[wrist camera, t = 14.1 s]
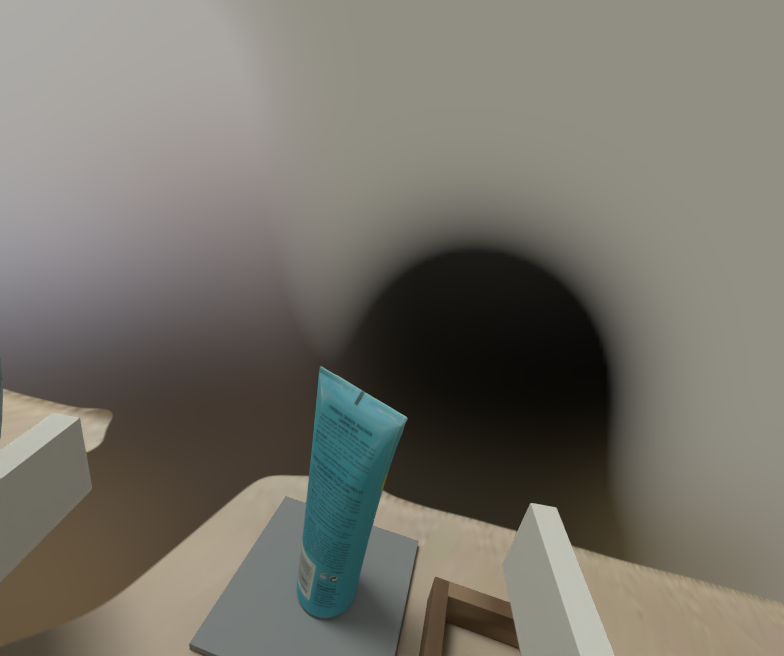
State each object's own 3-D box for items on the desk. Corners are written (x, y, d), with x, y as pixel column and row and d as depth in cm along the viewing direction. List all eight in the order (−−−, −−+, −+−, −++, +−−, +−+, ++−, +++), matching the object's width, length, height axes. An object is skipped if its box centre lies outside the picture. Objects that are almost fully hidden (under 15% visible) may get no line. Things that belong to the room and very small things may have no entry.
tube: (378, 592, 33) (426, 400, 25) (342, 645, 29) (387, 435, 21) (312, 541, 36) (337, 357, 29) (271, 582, 32) (288, 381, 25)
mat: (189, 648, 28) (189, 643, 27) (285, 500, 40) (285, 496, 40) (379, 728, 25) (380, 723, 25) (417, 545, 38) (418, 541, 38)
